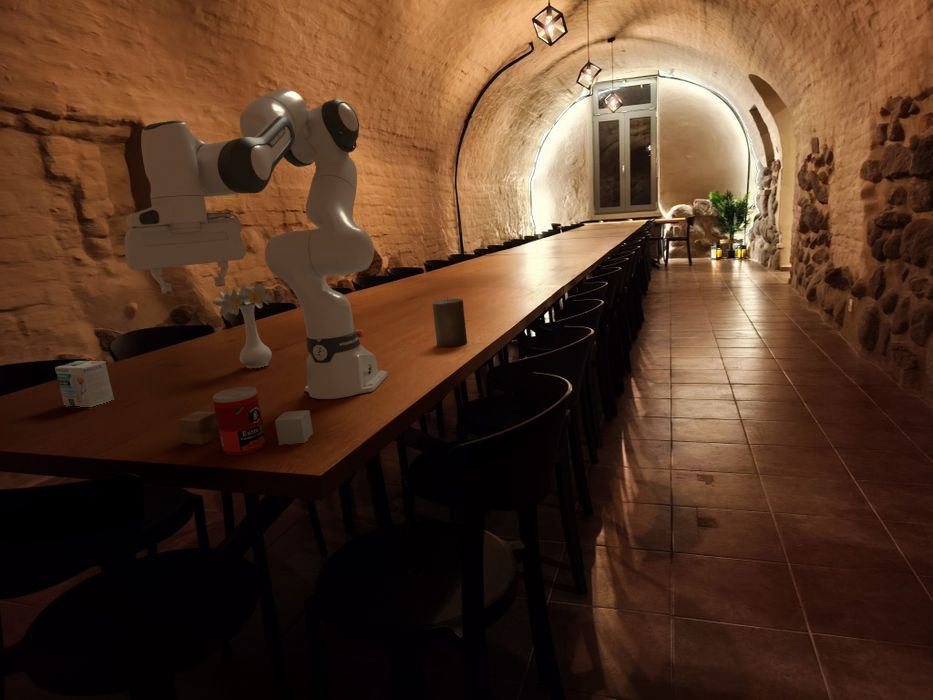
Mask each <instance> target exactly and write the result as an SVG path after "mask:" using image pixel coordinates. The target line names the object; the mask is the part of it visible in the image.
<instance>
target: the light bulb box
mask: <svg viewBox="0 0 933 700" xmlns="http://www.w3.org/2000/svg"><path fill="white" fill-rule="evenodd" d="M54 370H55V373H56V374H55V375H56V378H57V381H58V385H59V388H60V389H59V390H60V393H61V398H62V403H63V405H66V406H65V407H68V406H80V407H93V406H96V405H99V404H102V405H104V404H103V403H105V404H107V403H106V402H108V403H110V402H109V401H111V400H114V401H115V398H114V393H113V389H112V386H111V385H112V384H111V382H110V380H111V379H110V377H109V372H108V368H107V364H106V361H103V360H101V361H100V360H99V361H97V360H96V361H94V360H89V361H88V360H76V361H73V362H69V363H66V364H62V365H59V366H55V367H54ZM111 402H112V401H111ZM99 406H100V405H99ZM80 407H79V408H80ZM96 407H97V406H96Z"/></svg>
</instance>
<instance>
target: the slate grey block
mask: <svg viewBox="0 0 933 700" xmlns="http://www.w3.org/2000/svg"><path fill="white" fill-rule="evenodd" d="M310 411H311V410H309V409H307V410H306V409H303V410H292V411H284V412H283V413H282V414H280V415H279V416H278V417H277V418H276V419H275V420H274V422H275V423H274V424H275V429H276V435H277V440H278V445H279V446H284V445H283V444H289V445H297V444H296V443H305V442H306V441H307V442H308V441H309V439H310V438H311V437H310V436H311V435H312V436H313V435H314V430H313V424H312V419H311V412H310ZM309 437H310V438H309ZM308 438H309V439H308ZM307 442H306V443H307ZM294 443H295V444H294ZM306 443H305V444H306Z"/></svg>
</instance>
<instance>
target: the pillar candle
mask: <svg viewBox="0 0 933 700" xmlns="http://www.w3.org/2000/svg"><path fill="white" fill-rule="evenodd" d="M432 312H433V322H434V329H435V330H434V331H435V338H436V340H435V341H436V345H437V347H440V348H451V347H458V346H459V347H460V346H463V345H465V344H467V343H468V339H467V338H468V337H467V328H466V319H465V308H464V299H462V298H449V297H448V296H447V297H446V299H441V300H435V301H433V302H432Z"/></svg>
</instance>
